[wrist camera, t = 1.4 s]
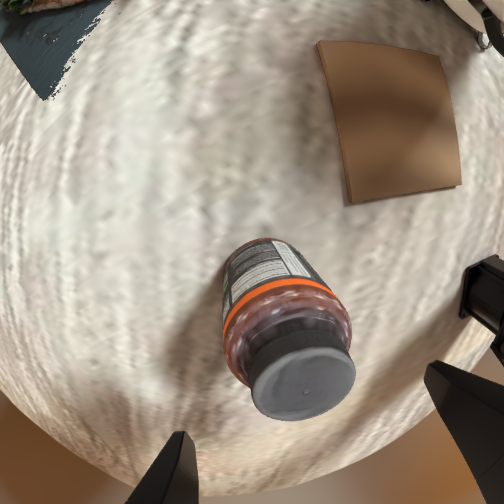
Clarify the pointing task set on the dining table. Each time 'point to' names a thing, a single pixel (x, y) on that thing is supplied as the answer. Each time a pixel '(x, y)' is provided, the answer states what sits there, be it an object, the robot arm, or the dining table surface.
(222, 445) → the dining table surface
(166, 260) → the dining table surface
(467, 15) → the coffee press
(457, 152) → the walnut trivet
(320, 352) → the supplement bottle
